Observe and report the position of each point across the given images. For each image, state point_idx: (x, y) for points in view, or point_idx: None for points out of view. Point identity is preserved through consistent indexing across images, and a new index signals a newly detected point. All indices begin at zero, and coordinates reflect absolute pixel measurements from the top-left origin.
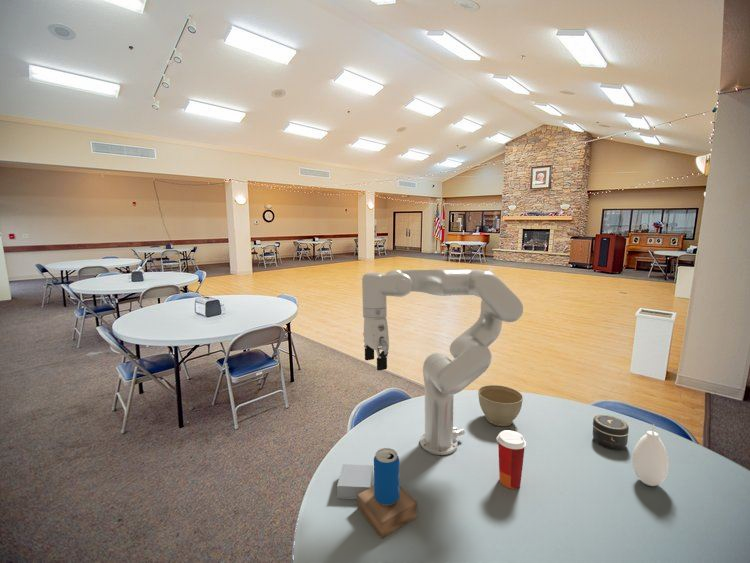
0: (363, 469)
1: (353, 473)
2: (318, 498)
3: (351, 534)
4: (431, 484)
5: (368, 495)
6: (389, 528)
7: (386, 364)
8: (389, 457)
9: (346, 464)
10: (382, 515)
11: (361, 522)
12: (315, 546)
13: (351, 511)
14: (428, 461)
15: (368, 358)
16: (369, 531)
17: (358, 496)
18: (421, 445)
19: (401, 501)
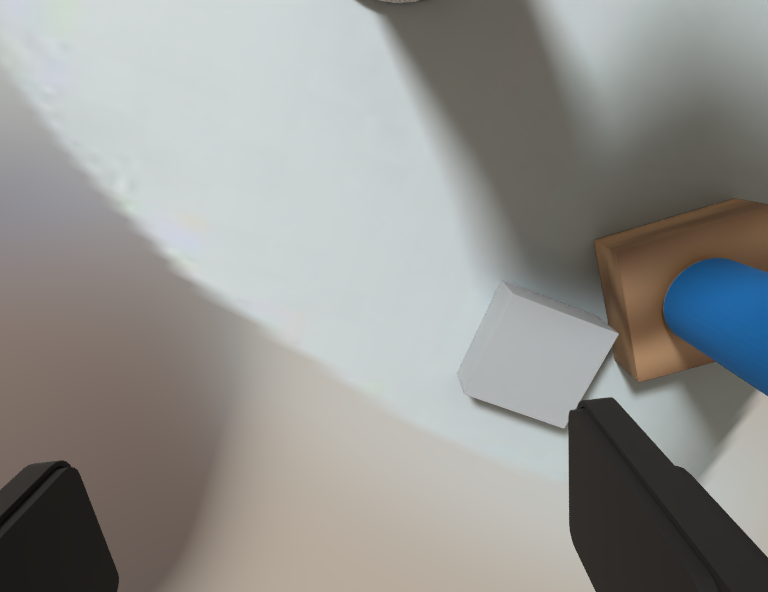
0: (522, 332)
1: (528, 369)
2: (527, 453)
3: (690, 393)
4: (631, 77)
5: (660, 351)
6: None
7: (652, 450)
8: (763, 320)
9: (469, 382)
10: None
11: None
12: None
13: (616, 378)
14: (503, 21)
15: (94, 574)
16: None
17: (644, 379)
18: (394, 1)
19: (741, 256)
